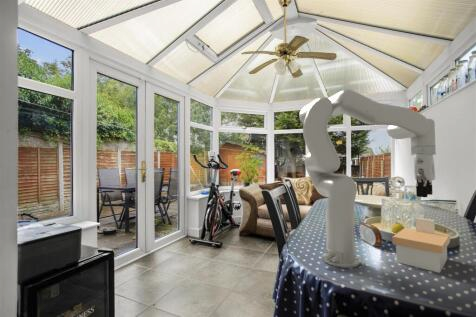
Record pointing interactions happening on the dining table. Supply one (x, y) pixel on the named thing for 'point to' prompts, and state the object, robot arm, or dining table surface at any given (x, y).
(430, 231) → the lid
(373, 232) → the tin
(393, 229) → the lemon
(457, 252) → the dining table surface
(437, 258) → the tub
